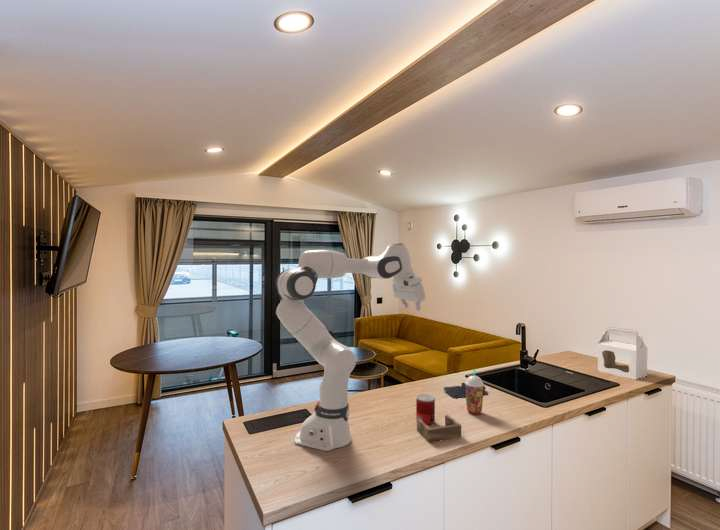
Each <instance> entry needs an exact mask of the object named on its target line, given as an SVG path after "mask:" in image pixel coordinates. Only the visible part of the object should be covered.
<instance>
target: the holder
mask: <svg viewBox="0 0 720 530" xmlns="http://www.w3.org/2000/svg"><path fill="white" fill-rule="evenodd" d="M444 416H445V417H444V425H443V426H437V427H429V426H427V425H426V424H425V423H424V422H423V421H422V420H421V419H420V418H419V419H417V420H416V432H418V434H419V435H421V437H422V438H424V439H425V441H427V443H429V442H430V443H434V442H433V441H437V442H441V441H440V440H443V441H447V440H446V439H449V440H453V439H452V438H456V439H461V438H462V424H460V423H459V422H458V421H456V420H455V418H453V417H452V416H450V415H449V414H445V415H444ZM460 437H461V438H460Z"/></svg>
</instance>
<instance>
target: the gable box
mask: <svg viewBox="0 0 720 530" xmlns="http://www.w3.org/2000/svg"><path fill="white" fill-rule="evenodd" d="M610 335H612V336H618V337H626V338H630V339H631V338H632V339H635V340H636V344H634V343H633V344H632V343H627V342H623V341H617V340H613V339H612V340H610ZM615 354H619V355H626V356H629V357H630V362H629V364H628V365H626V364H625V365H623V364H621V365H619V364H617V363H616V355H615ZM597 371H598V372H601V373H605V374H608V375H613V376H618V377H622V378H625V377H626V378H625V379H629V378H632V379H631V380H633V379H638V380H640V379H639V378H641V377H644V378H646V377H645V376H647V377H648V347H647V346H646V343H645V342H644V341H643V336H640V335H639V333H638V330H634V329H627V328H622V327H621V328H620V327H615V326H614V327H612V326H609V327H607V328H606V331H605V330H603V335H602V337H601V338H600V340H599V341H598V343H597ZM641 379H642V378H641Z"/></svg>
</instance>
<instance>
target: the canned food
mask: <svg viewBox="0 0 720 530" xmlns="http://www.w3.org/2000/svg"><path fill="white" fill-rule="evenodd" d="M415 399H416V400H415V401H416V404H415V407H416V408H415V409H416V414H415V415H416V417H415V418H416V419H415V420H416V421H417V419H419V418H420V419H421V420H422V421H423V422H424V423H425V424H426V425H427V426H428V427H429V425H430V426H433V425H434V424H435V421H436V420H435V418H436V415H435V413H436V409H435V408H436V407H435V405H436V404H435V403H436V402H435V401H436V398H435V396H433V395H431V394H419V395H416V397H415Z"/></svg>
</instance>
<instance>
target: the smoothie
mask: <svg viewBox="0 0 720 530" xmlns="http://www.w3.org/2000/svg"><path fill="white" fill-rule="evenodd" d="M464 383H465V387H466V398H465V401H466V410H467V412H468V414H470V415H473V416H478V415H481V413H482V411H483V398H484V396H483V388H484V386H485V384H484V382H483V380H482V379H481V377H479V376H478V375H476V369H473V375H470V376H468V377H467V378H466V381H465V382H464Z"/></svg>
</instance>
